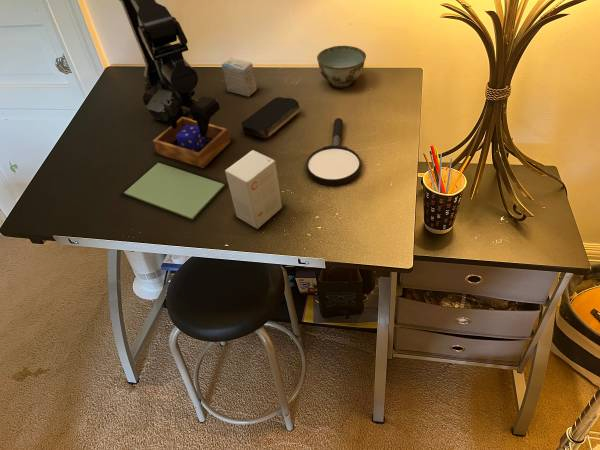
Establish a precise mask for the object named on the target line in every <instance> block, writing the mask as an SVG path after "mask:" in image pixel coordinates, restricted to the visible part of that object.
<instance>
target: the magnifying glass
mask: <svg viewBox="0 0 600 450" xmlns="http://www.w3.org/2000/svg"><path fill="white" fill-rule="evenodd" d="M343 124H344V121H343V119H342V118H340V117H336V118H335V119H334V122H333V129H332V137H331V138H332V140H331V141H332V143H331V145H326V146H323V147H322V148H319V149H317V150H315V151H314V152H312V153H310V155H309V156H308V158H307V160H306V172H307V174H308V176H309V178H311V179H312V180H313V181H314V182H316V183H319V184H321V185H327V186H340V185H343V184H347V183H350V182H352V181H353V180H355V179H356V178H357V176H359V174H360V172H361V168H362V161H361V158H360V156H359V154H358V153H357V152H355V151H354V150H353V149H351V148H349V147H347V146H344V145H340V143H341V140H342V136H343V135H342V134H343V126H344V125H343Z"/></svg>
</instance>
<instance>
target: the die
mask: <svg viewBox="0 0 600 450" xmlns="http://www.w3.org/2000/svg"><path fill="white" fill-rule="evenodd" d="M176 138H177V140H176V141H177V143H178V146H179V147H182V148H185V149H189V150H192V151H195V152H198V153H199V152H200V151H201V150H202V149H203V148H204V147H205V146H206V145H207V144H208V142H207V139H206V138H207V137H202V135H201V133H200V130H199V127H198V126H190V125H185V126H184V127H183V128H182V129H181V131H180V132H179V133H178V134H177V136H176Z"/></svg>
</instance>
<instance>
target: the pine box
mask: <svg viewBox="0 0 600 450" xmlns="http://www.w3.org/2000/svg"><path fill="white" fill-rule="evenodd" d="M185 125H190V126H198V124H197V122H196V121H194V120H192V118H190V117H186V116H183V117H181V118H180V119H179V120H177V128H175V129H173V128H172V127H171V125H170V126H169V127H167V128H166V129H165V130H164V131H163V132H162V133H160V134H159V135H158V136H156V137H155V138H154V139H153V140H152V143H153V145H154V148H155V151H156V154H158V155H161V156H163V157H167V158H169V159H172V160H177V161H179V162H183V163H186V164H188V165H192V166H194V167H197V168H201V169H204V168H205V167H206V166H207V165H208V164H209V163H211V162H212V161H213V159H214V158H215V157H217V156H218V155H219V153H221V152H222V151H223V150H224V149H225V148H226V147H227V146H228V145H229V144H230V143H231V138H230V133H229V129H228V128H226V127H224V126H223V127H222V126H218V125H215V124H211V123H209V126H208V130H207V134H206V136H205V138H208V139H212V140H211V141H209V142H207V144H206V145H205V146H204V148H203V149H202V150H201V151H200V152H199V153H198V152H195V151H192V150H189V149H185V148H182V147H179V145H175V144H174V143H175V142H176V141H177V138H176V136H177V134H178V133H179V132H180V131H181V129H182V128H183V127H184V126H185Z"/></svg>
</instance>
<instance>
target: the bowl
mask: <svg viewBox="0 0 600 450" xmlns="http://www.w3.org/2000/svg"><path fill="white" fill-rule="evenodd" d="M366 59H367V54H366V52H365V51H364V50H362V49H361V48H358V47H356V46H352V45H334V46H330V47H328V48H325V49H323V50H321V51H320V52H318V54H317V56H316V61H317V63H318V69H319V71H320V74H321V76H322V77H323V78H324V79H325V81H327V82H329V84H331V85H332V86H333V87H335V88H346V87H349V86H351V85H352V83H353V82H354V81H356V80H357V79H359V77H360V76H361V74H362V72H363V69H364V66H365V61H366Z"/></svg>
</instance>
